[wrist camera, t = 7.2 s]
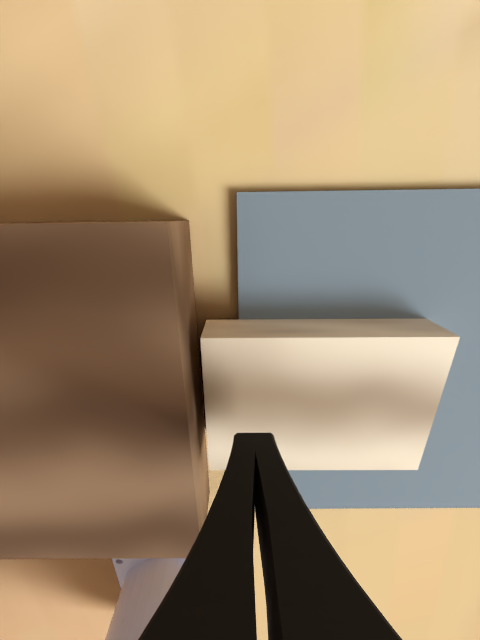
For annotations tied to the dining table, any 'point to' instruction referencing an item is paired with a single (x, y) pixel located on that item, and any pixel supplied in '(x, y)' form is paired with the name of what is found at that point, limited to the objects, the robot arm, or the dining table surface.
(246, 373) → the cream rectangular block
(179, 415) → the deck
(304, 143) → the dining table surface
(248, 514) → the robot arm
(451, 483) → the mat
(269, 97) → the dining table surface
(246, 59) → the dining table surface
